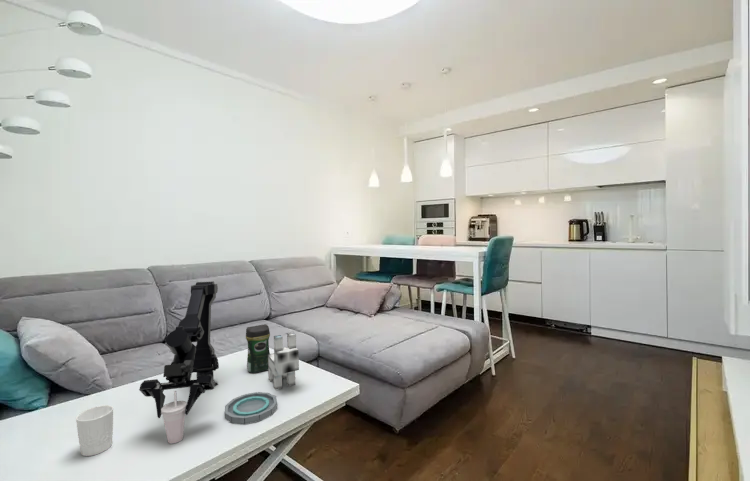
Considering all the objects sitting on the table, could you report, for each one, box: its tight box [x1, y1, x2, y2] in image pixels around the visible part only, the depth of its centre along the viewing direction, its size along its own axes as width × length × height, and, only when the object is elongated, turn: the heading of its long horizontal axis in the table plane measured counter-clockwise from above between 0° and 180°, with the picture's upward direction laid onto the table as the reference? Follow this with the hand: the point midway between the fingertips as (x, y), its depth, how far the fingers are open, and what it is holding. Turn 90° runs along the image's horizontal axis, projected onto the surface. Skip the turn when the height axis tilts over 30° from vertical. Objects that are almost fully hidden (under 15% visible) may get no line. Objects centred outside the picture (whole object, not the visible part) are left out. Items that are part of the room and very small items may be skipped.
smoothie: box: [161, 390, 187, 444], centre depth 98 cm, size 6×6×14 cm
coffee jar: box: [245, 323, 271, 374], centre depth 146 cm, size 10×8×19 cm
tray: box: [223, 391, 278, 425], centre depth 114 cm, size 16×16×2 cm
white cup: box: [75, 405, 114, 457], centre depth 95 cm, size 8×8×10 cm
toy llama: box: [267, 332, 300, 391], centre depth 132 cm, size 8×18×20 cm, turn 31°
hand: (172, 416), depth 97 cm, fingers open, 7 cm apart
